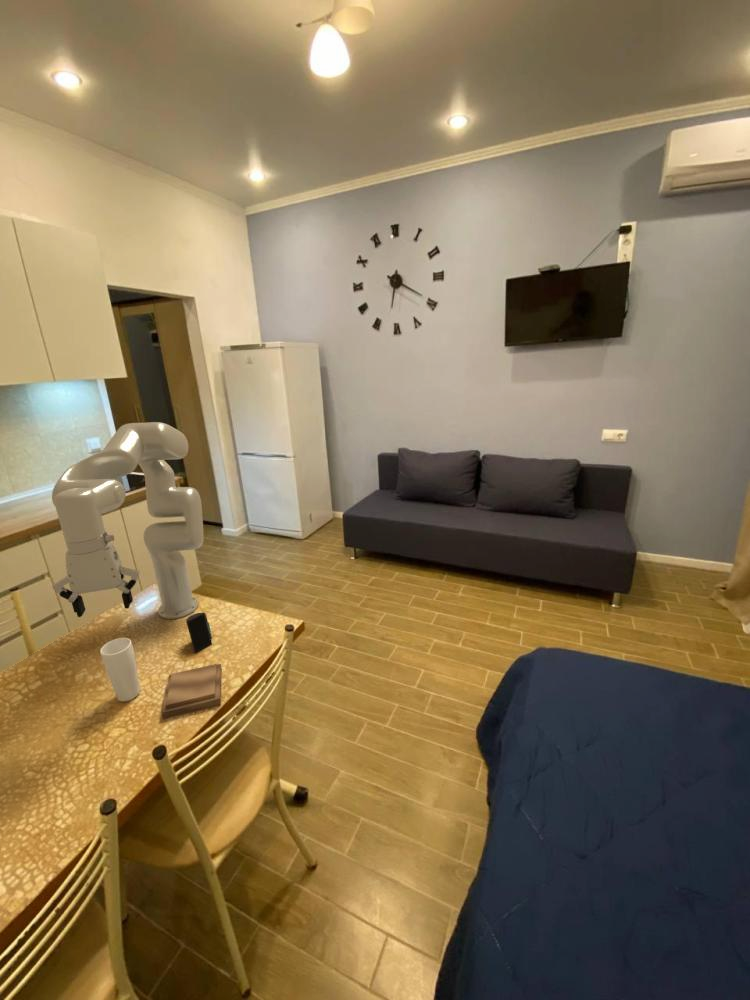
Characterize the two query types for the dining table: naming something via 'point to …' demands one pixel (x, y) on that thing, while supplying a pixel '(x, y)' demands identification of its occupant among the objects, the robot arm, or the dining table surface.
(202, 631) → the speaker
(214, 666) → the pedestal
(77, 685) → the dining table surface
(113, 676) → the drinking glass
